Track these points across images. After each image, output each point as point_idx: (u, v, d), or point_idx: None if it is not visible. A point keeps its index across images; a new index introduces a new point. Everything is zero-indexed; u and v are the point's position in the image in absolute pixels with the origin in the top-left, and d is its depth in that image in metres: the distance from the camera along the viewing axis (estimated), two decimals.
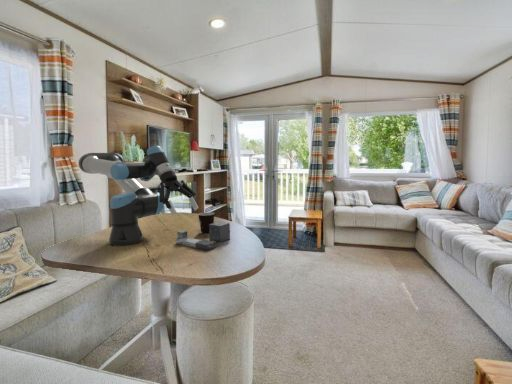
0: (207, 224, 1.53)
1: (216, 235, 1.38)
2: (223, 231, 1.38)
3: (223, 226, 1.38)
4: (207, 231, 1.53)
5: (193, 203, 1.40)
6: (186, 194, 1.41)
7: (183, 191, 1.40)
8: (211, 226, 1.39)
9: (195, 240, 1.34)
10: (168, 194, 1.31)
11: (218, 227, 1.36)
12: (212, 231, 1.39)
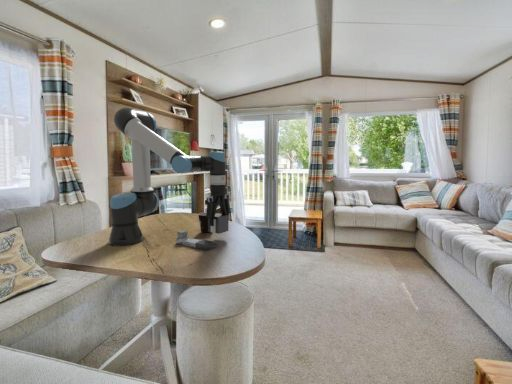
0: (207, 224, 1.53)
1: None
2: (222, 222, 1.37)
3: (222, 218, 1.37)
4: (207, 231, 1.53)
5: None
6: (222, 210, 1.42)
7: (222, 206, 1.41)
8: None
9: (195, 240, 1.34)
10: (214, 211, 1.36)
11: (217, 219, 1.36)
12: None
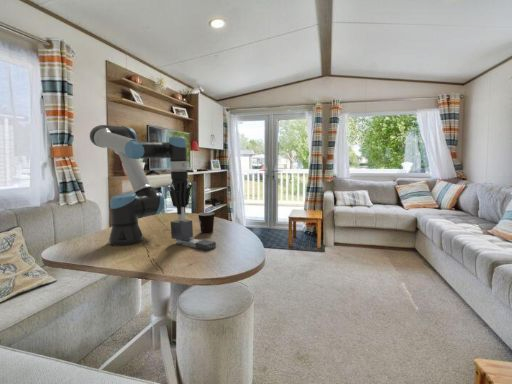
0: (207, 224, 1.53)
1: (177, 233, 1.33)
2: (184, 229, 1.34)
3: (185, 224, 1.34)
4: (207, 231, 1.53)
5: None
6: (181, 199, 1.36)
7: (182, 195, 1.35)
8: (172, 223, 1.35)
9: (195, 240, 1.34)
10: (180, 199, 1.33)
11: (179, 225, 1.32)
12: (173, 229, 1.35)
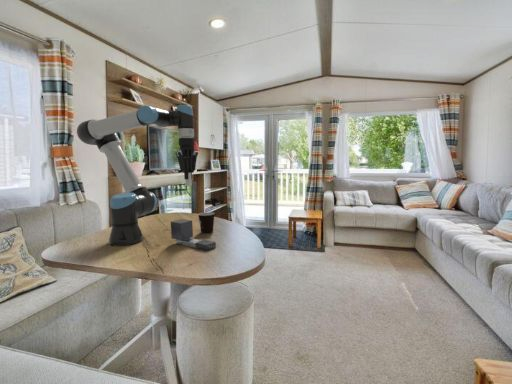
0: (207, 224, 1.53)
1: (177, 233, 1.33)
2: (184, 229, 1.34)
3: (185, 224, 1.34)
4: (207, 231, 1.53)
5: None
6: (188, 165, 1.43)
7: (189, 161, 1.43)
8: (172, 223, 1.35)
9: (195, 240, 1.34)
10: (187, 165, 1.41)
11: (179, 225, 1.32)
12: (173, 229, 1.35)
